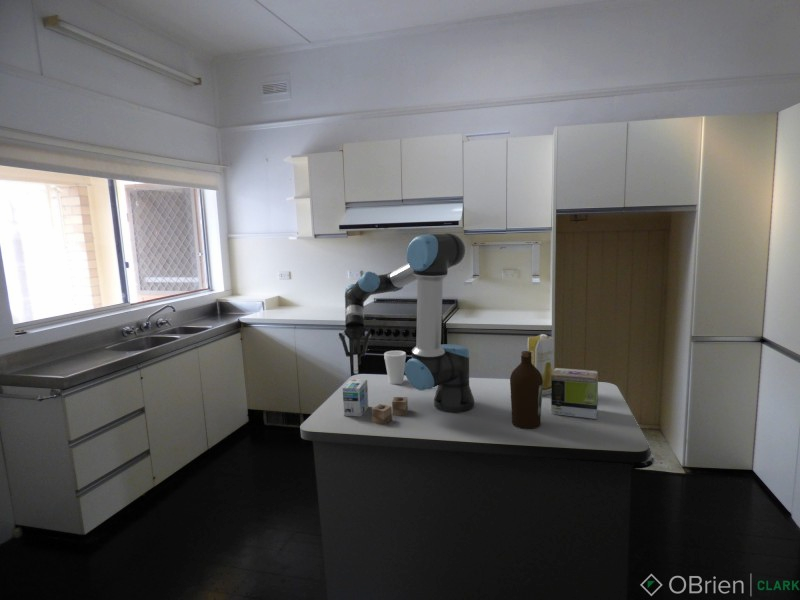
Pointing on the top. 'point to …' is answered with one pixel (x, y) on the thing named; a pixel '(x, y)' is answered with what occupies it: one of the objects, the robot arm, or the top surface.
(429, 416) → the top surface
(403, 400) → the walnut cube
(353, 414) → the light bulb box
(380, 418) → the walnut cube
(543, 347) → the juice carton
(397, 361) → the foam cup
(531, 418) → the olive oil
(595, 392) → the tea box
